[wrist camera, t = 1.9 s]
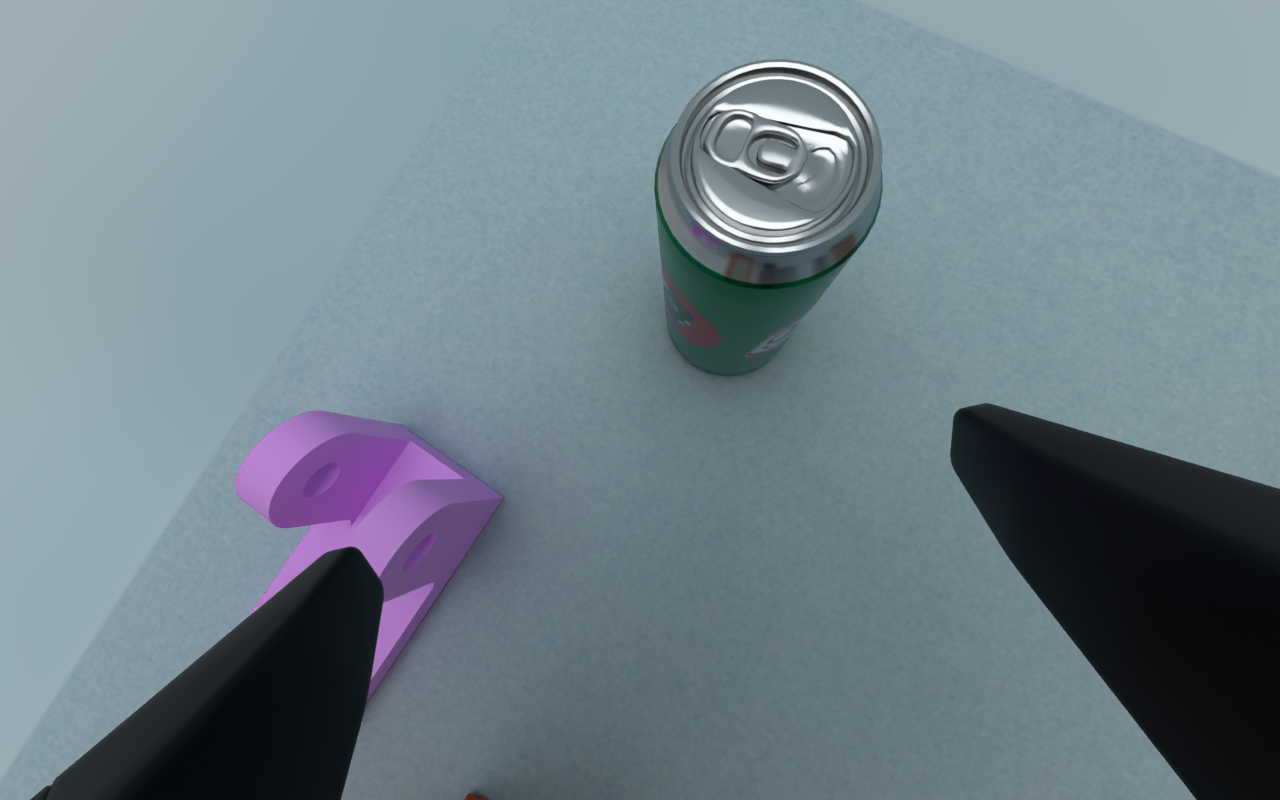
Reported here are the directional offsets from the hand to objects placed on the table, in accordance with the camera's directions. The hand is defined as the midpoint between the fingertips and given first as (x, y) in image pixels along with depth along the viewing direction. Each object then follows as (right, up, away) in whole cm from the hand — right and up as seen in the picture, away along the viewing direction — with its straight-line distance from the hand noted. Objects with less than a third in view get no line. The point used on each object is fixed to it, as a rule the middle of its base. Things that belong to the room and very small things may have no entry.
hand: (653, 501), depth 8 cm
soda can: (+3, +5, +15) cm, 16 cm away
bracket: (-12, -6, +15) cm, 20 cm away
